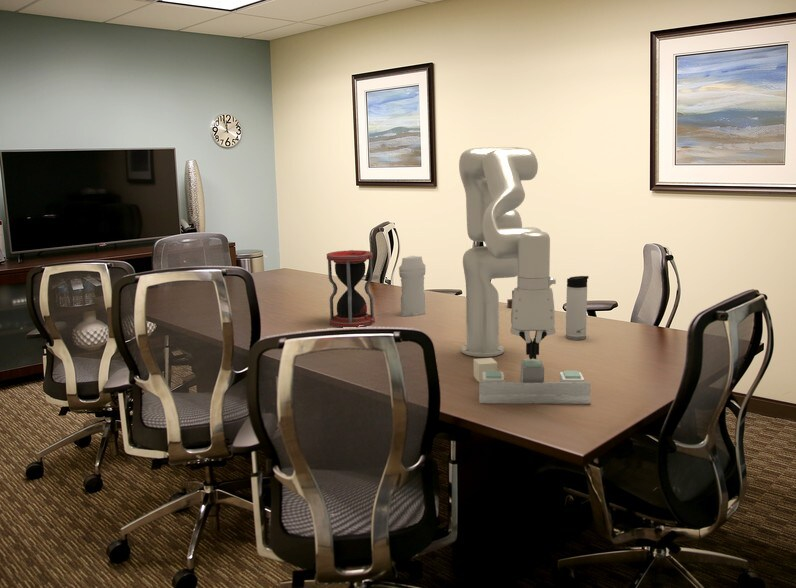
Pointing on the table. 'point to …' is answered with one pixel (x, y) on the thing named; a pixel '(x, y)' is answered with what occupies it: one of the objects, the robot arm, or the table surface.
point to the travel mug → (576, 307)
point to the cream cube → (483, 367)
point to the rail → (535, 392)
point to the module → (532, 370)
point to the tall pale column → (412, 286)
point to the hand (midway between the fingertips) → (532, 357)
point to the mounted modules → (564, 376)
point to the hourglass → (350, 288)
